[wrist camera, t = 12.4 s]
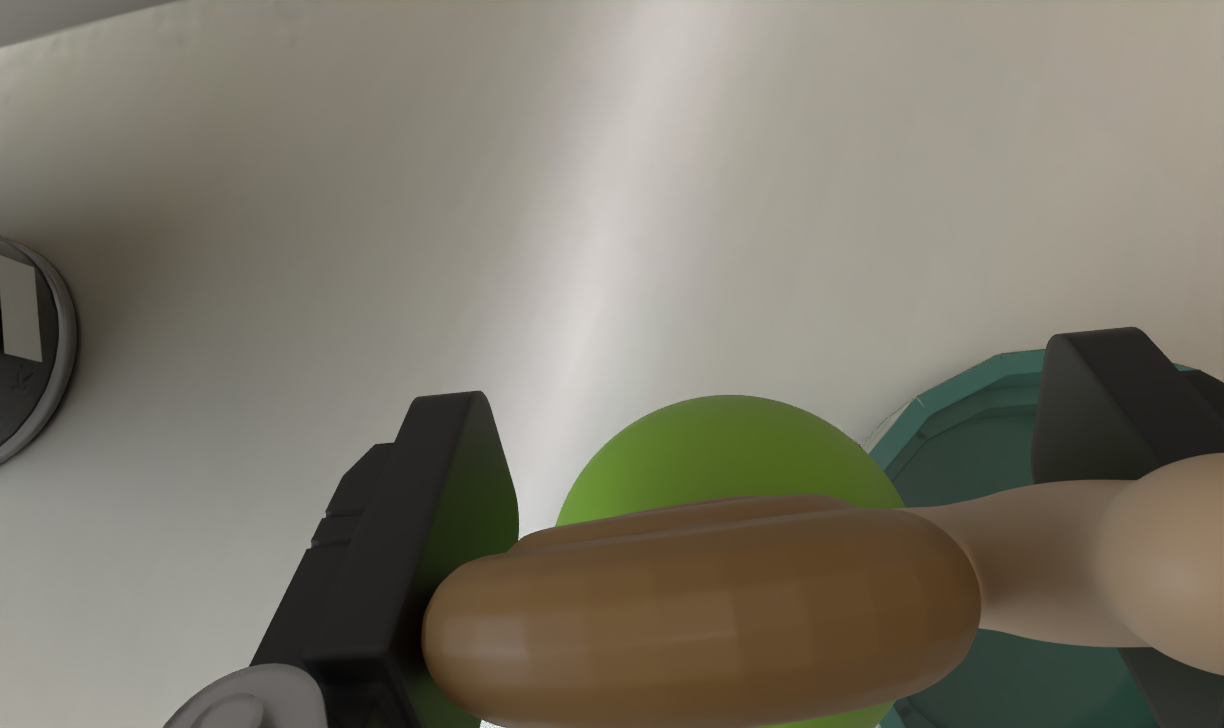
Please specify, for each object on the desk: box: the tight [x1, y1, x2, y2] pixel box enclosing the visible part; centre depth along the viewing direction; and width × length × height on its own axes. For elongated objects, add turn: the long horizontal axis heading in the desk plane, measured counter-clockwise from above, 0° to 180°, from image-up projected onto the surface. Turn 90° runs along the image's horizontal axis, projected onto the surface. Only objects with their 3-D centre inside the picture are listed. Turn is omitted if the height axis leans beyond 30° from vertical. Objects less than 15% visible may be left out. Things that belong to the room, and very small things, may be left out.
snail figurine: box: [421, 395, 1224, 728], centre depth 9 cm, size 5×6×12 cm
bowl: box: [862, 349, 1205, 728], centre depth 23 cm, size 12×12×6 cm
